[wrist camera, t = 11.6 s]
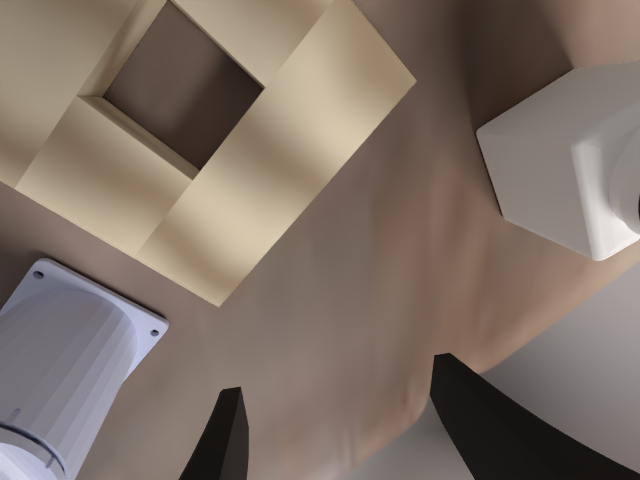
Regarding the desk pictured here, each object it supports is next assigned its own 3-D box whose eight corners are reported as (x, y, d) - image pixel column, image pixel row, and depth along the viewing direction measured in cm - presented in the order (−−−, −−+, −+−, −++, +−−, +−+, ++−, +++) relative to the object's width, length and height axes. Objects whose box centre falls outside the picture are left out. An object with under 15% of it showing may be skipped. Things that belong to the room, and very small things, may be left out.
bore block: (223, 285, 21) (218, 307, 18) (-72, 104, 15) (-133, 104, 12) (396, 84, 18) (416, 80, 16) (122, -242, 12) (90, -324, 10)
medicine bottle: (502, 220, 23) (728, 325, 12) (472, 130, 20) (735, 157, 9) (591, 166, 22) (910, 222, 11) (574, 66, 19) (981, 12, 9)
